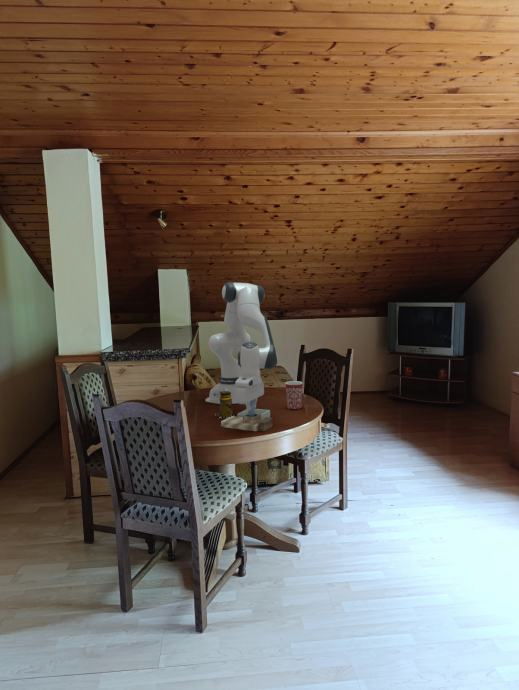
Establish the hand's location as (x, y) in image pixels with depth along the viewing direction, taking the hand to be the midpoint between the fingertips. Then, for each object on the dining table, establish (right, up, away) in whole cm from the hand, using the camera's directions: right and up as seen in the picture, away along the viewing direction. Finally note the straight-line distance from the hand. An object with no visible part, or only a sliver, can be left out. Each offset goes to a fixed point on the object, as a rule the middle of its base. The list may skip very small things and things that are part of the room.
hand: (251, 409), depth 207 cm
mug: (+22, -4, +34) cm, 41 cm away
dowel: (0, -5, +1) cm, 5 cm away
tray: (+1, -7, +13) cm, 15 cm away
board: (-4, -8, +3) cm, 9 cm away
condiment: (-14, -7, +21) cm, 26 cm away
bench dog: (+6, -8, -2) cm, 11 cm away
